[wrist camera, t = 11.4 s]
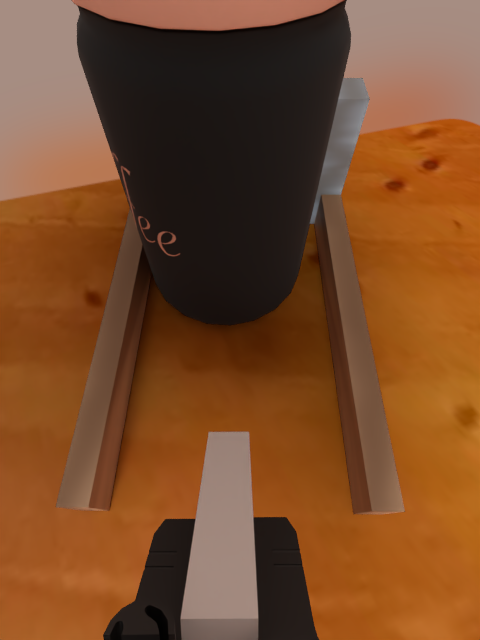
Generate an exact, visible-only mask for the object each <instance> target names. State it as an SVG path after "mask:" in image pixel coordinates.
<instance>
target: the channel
mask: <svg viewBox="0 0 480 640" xmlns="http://www.w3.org/2000/svg"><path fill="white" fill-rule="evenodd" d="M369 100H370V99H369V96H368V93H367V90H366V87H365V84H364V81H363V78H343V81H342V85H341V90H340V94H339V98H338V103H337V107H336V112H335V116H334V120H333V125H332V129H331V133H330V138H329V142H328V146H327V151H326V155H325V160H324V164H323V168H322V173H321V177H320V181H319V186H318V190H317V194H316V199H315V203H314V208H313V212H312V216H311V221H310V224H314V226H315V233H316V240H317V248H318V255H319V262H320V270H321V277H322V285H323V292H324V299H325V307H326V314H327V321H328V329H329V336H330V343H331V351H332V358H333V366H334V373H335V380H336V388H337V395H338V402H339V410H340V417H341V424H342V432H343V439H344V447H345V454H346V461H347V469H348V476H349V483H350V491H351V498H352V505H353V513H354V514H389V513H398V512H405V510H404V505H403V500H402V495H401V490H400V485H399V480H398V475H397V470H396V465H395V461H394V456H393V451H392V446H391V441H390V436H389V431H388V426H387V421H386V416H385V411H384V406H383V401H382V396H381V391H380V386H379V381H378V376H377V371H376V366H375V362H374V357H373V352H372V347H371V342H370V337H369V332H368V327H367V322H366V317H365V312H364V307H363V302H362V297H361V292H360V287H359V282H358V277H357V272H356V268H355V263H354V258H353V253H352V248H351V243H350V238H349V233H348V228H347V223H346V218H345V213H344V208H343V203H342V198H341V192H342V189H343V186H344V182H345V179H346V176H347V172H348V169H349V166H350V163H351V159H352V156H353V153H354V149H355V146H356V143H357V139H358V136H359V133H360V129H361V126H362V122H363V119H364V116H365V113H366V109H367V106H368V102H369ZM151 273H152V271H151V268H150V265H149V262H148V259H147V256H146V253H145V250H144V247H143V244H142V241H141V238H140V235H139V233H138V230H137V227H136V224H135V221H134V218H133V215H132V212H131V209H130V210H129V214H128V218H127V222H126V226H125V230H124V234H123V238H122V242H121V246H120V250H119V254H118V258H117V262H116V266H115V270H114V274H113V278H112V282H111V286H110V290H109V294H108V298H107V303H106V307H105V311H104V315H103V319H102V323H101V327H100V331H99V335H98V339H97V343H96V347H95V351H94V355H93V359H92V363H91V367H90V371H89V375H88V379H87V383H86V387H85V391H84V395H83V399H82V403H81V407H80V411H79V415H78V419H77V423H76V427H75V431H74V435H73V439H72V443H71V447H70V451H69V455H68V459H67V463H66V467H65V471H64V475H63V479H62V483H61V487H60V491H59V495H58V499H57V503H56V507H59V508H66V509H74V510H90V511H109V508H110V502H111V497H112V491H113V486H114V480H115V474H116V469H117V463H118V458H119V452H120V446H121V441H122V435H123V430H124V424H125V418H126V413H127V407H128V402H129V396H130V390H131V385H132V379H133V374H134V368H135V363H136V357H137V351H138V346H139V340H140V335H141V329H142V323H143V318H144V312H145V307H146V301H147V295H148V290H149V284H150V279H151Z"/></svg>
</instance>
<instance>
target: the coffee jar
mask: <svg viewBox="0 0 480 640" xmlns="http://www.w3.org/2000/svg"><path fill="white" fill-rule="evenodd" d="M72 1H73V2H74V4H76V5H77V6H78V8H79V11H80V16H79V19H78V22H77V46H78V53H79V58H80V61H81V63H82V66H83V69H84V73H85V75H86V78H87V81H88V84H89V87H90V90H91V93H92V96H93V99H94V102H95V105H96V108H97V111H98V114H99V117H100V120H101V123H102V126H103V129H104V132H105V135H106V138H107V141H108V143H109V146H110V150H111V152H112V156H113V158H114V161H115V164H116V167H117V170H118V173H119V176H120V179H121V182H122V185H123V188H124V191H125V194H126V197H127V200H128V203H129V206H130V209H131V212H132V215H133V218H134V221H135V224H136V227H137V230H138V233H139V235H140V238H141V241H142V244H143V247H144V250H145V253H146V256H147V259H148V262H149V265H150V268H151V271H152V274H153V277H154V280H155V283H156V285H157V287H158V288H159V290H160V292H161V293H162V295H163V297H164V298H165V300H166V301H167V302H168V303H170V304H171V305H172V306H173V307H175V308H176V309H177V310H178V311H180V312H181V313H182V314H184V315H185V316H188V317H190V318H193V319H196V320H199V321H201V322H204V323H207V324H220V325H234V324H239V323H244V322H249V321H254V320H256V319H258V318H260V317H262V316H263V315H265V314H267V313H269V312H271V311H273V310H274V309H276V308H277V307H278V306H279V305H280V303H281V302H282V301H283V300H284V299H285V298H286V297H287V296H288V295H289V294H290V293H291V291H292V288H293V286H294V284H295V281H296V279H297V276H298V273H299V269H300V264H301V260H302V256H303V251H304V247H305V242H306V238H307V234H308V229H309V225H310V221H311V216H312V212H313V208H314V203H315V199H316V194H317V190H318V186H319V181H320V177H321V173H322V168H323V164H324V160H325V155H326V151H327V146H328V142H329V138H330V133H331V129H332V125H333V120H334V116H335V112H336V107H337V103H338V98H339V94H340V90H341V85H342V81H343V77H344V72H345V68H346V64H347V59H348V55H349V50H350V43H351V32H350V27H349V21H348V16H347V14H346V11H345V4H346V0H72Z"/></svg>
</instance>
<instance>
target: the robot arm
mask: <svg viewBox="0 0 480 640" xmlns="http://www.w3.org/2000/svg"><path fill="white" fill-rule="evenodd" d="M103 637H104V640H319V639H318V637H317V633H316V630H315V627H314V622H313V617H312V612H311V607H310V601H309V596H308V591H307V586H306V581H305V575H304V570H303V567H302V560H301V554H300V549H299V544H298V539H297V534H296V531H295V529H294V528H293V527H292V525H291V524H290V522H289V521H288V519H287V518H286V517H253V502H252V482H251V462H250V443H249V432H209V434H208V441H207V448H206V454H205V461H204V467H203V474H202V480H201V487H200V494H199V500H198V507H197V513H196V519H165V520H164V522H163V523H162V524H161V526H160V527H159V528H158V529H157V531H156V532H155V533H154V536H153V540H152V543H151V547H150V550H149V555H148V557H147V561H146V564H145V570H144V572H143V575H142V579H141V582H140V586H139V589H138V593H137V596H136V600H135V601H134V602H132V603H131V604H129V605H127V606H126V607H124V608H122V609H121V610H120V611H119V612H118V613H117V614H116V615H115V616H114V617H113V618H112V620H111V621H110V623H109V625H108V627H107V629H106V631H105V633H104V634H103Z"/></svg>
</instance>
